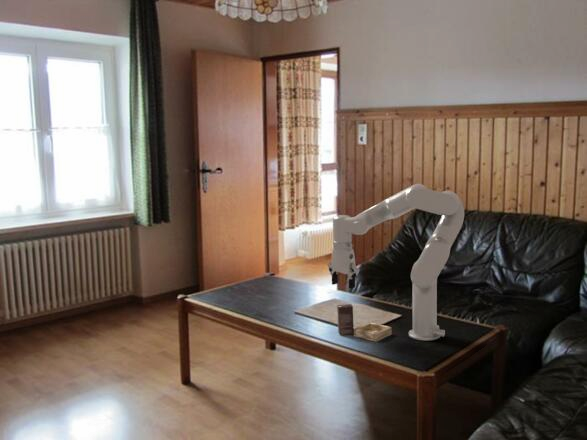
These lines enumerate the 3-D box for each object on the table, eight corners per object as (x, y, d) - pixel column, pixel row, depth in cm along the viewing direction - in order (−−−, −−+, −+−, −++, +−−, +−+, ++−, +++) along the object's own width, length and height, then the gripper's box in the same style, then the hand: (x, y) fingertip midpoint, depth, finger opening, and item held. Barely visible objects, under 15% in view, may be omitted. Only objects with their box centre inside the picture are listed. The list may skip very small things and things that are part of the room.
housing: (391, 334, 248) (391, 327, 248) (376, 341, 240) (375, 334, 240) (369, 328, 256) (369, 322, 255) (353, 336, 248) (353, 329, 247)
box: (351, 331, 253) (351, 303, 252) (353, 334, 249) (353, 306, 247) (337, 332, 253) (336, 304, 251) (339, 335, 248) (338, 307, 247)
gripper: (364, 246, 244) (365, 287, 247) (334, 241, 257) (335, 280, 260) (351, 249, 239) (352, 291, 242) (321, 244, 252) (322, 284, 255)
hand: (343, 286), depth 251 cm, fingers open, 9 cm apart
